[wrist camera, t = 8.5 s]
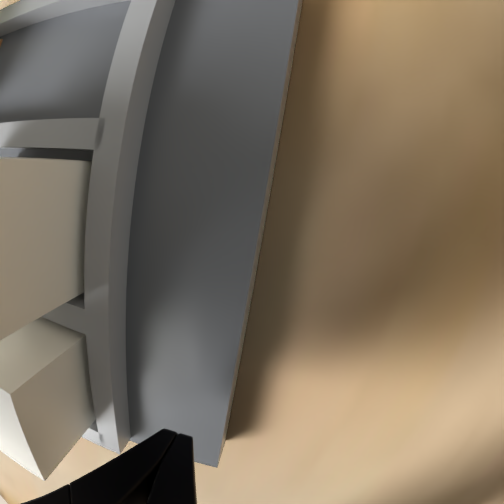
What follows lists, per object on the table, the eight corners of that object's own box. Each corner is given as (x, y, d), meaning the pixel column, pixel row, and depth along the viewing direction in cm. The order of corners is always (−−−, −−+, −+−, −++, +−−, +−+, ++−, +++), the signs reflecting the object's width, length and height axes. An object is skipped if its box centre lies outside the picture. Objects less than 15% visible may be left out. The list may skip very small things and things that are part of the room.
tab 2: (94, 328, 9) (10, 394, 5) (102, 411, 10) (44, 481, 6) (13, 295, 9) (-66, 334, 5) (26, 373, 10) (-34, 421, 6)
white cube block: (101, 162, 8) (-13, 158, 4) (93, 287, 9) (-4, 342, 5) (14, 156, 8) (-80, 159, 4) (11, 259, 9) (-75, 290, 5)
